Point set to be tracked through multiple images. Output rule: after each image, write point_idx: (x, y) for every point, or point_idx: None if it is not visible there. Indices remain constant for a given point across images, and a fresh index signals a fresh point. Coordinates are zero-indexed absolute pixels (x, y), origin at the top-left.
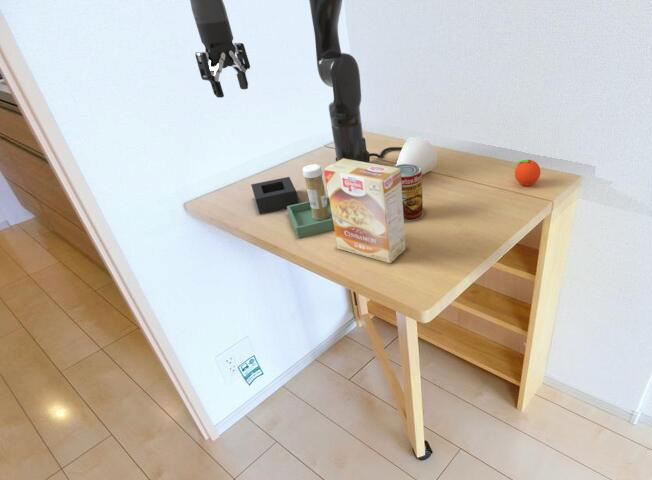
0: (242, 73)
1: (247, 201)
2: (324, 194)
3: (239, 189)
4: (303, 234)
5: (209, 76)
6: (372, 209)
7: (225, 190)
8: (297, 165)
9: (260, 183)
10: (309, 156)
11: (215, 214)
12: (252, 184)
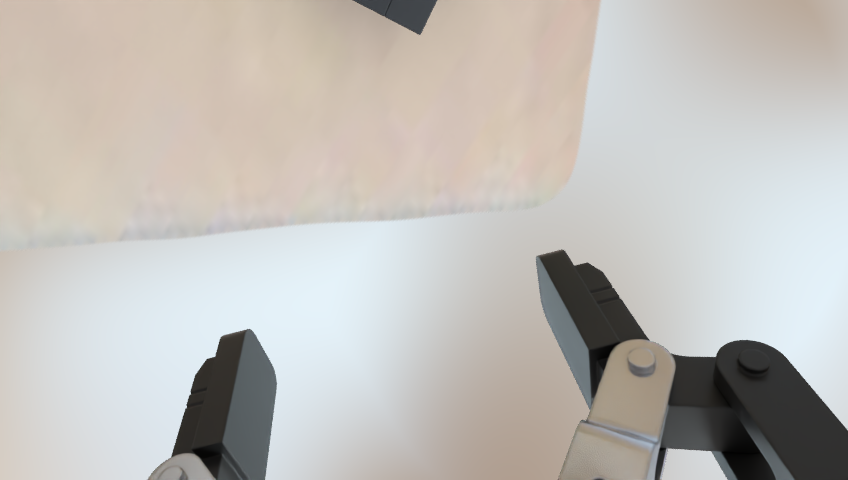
0: (210, 459)
1: (445, 28)
2: None
3: (399, 157)
4: None
5: (770, 372)
6: None
7: (435, 191)
8: (101, 174)
9: (388, 2)
10: (8, 216)
11: (581, 32)
12: (417, 27)
